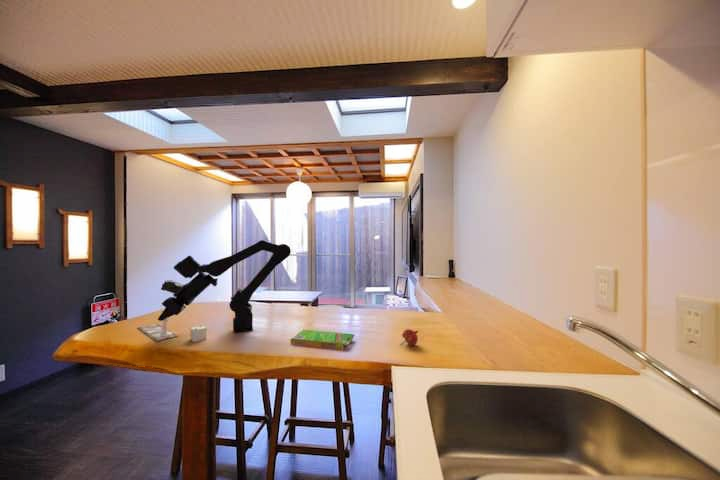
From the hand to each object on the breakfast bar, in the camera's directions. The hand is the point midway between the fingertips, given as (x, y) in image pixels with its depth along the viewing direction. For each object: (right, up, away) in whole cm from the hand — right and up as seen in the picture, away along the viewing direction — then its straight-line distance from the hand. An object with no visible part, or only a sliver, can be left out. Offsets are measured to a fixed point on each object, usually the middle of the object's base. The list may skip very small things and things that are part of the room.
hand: (159, 319), depth 94 cm
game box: (+59, -8, -2) cm, 60 cm away
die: (+14, -7, -1) cm, 16 cm away
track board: (-5, -7, +5) cm, 10 cm away
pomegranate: (+89, -8, -5) cm, 89 cm away
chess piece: (+1, -7, 0) cm, 7 cm away
